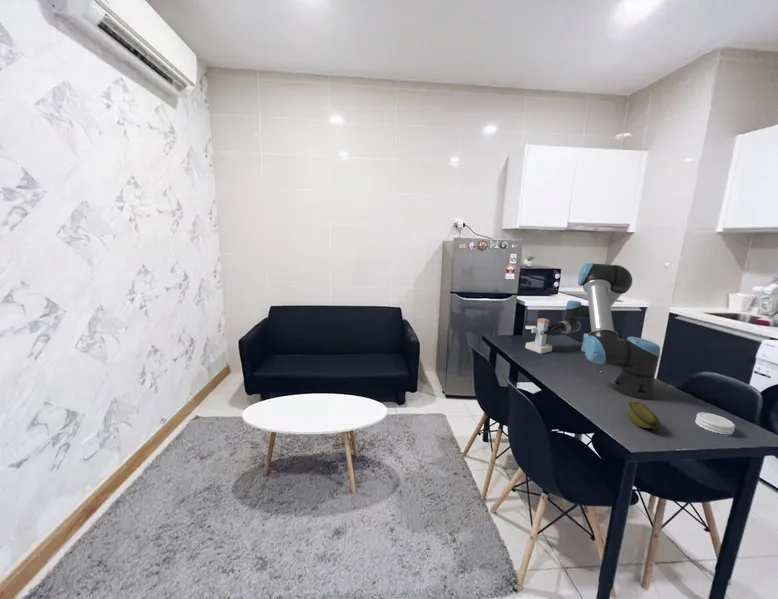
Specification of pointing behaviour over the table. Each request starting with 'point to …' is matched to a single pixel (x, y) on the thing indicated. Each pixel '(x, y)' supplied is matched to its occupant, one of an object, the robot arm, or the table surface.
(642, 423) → the fruit
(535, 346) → the white square base
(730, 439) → the table surface
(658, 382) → the table surface
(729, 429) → the white ridged lid
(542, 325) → the plug
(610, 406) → the table surface
